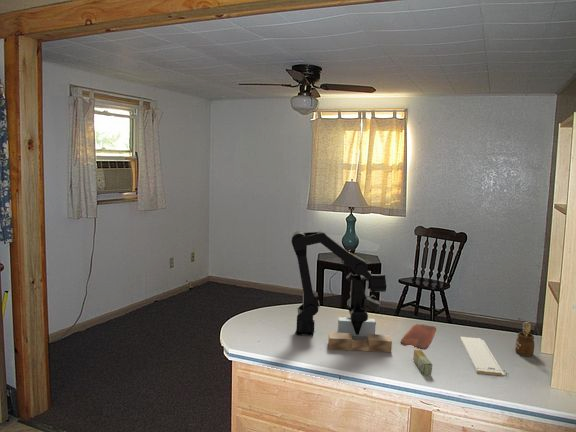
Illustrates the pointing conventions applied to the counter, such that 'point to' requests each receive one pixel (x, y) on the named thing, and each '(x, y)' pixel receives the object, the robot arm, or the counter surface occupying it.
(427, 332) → the wooden tablet
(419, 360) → the medication box
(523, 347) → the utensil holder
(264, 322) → the counter surface
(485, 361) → the baseboard
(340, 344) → the notched beam
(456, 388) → the counter surface
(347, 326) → the pale blue block
